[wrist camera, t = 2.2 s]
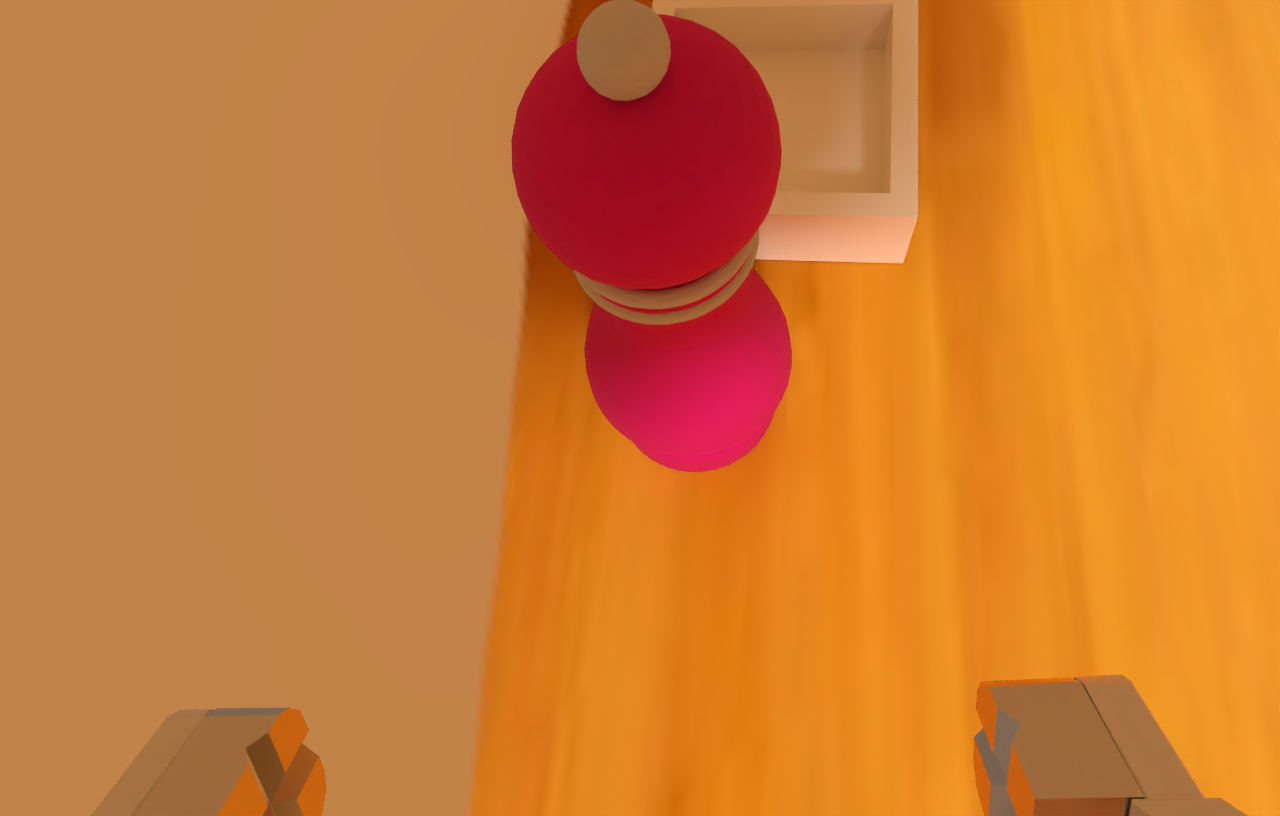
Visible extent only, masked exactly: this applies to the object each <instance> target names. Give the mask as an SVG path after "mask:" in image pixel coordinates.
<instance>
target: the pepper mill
mask: <svg viewBox="0 0 1280 816" xmlns="http://www.w3.org/2000/svg"><path fill="white" fill-rule="evenodd" d="M781 155H782V147H781V138H780V129H779V123H778V119H777V116H776V112H775V109H774V105H773V102H772V99H771V97H770V95H769V93H768V91H767V89H766V87H765V85H764V83H763V81H762V79H761V77H760V75H759V73H758V72H757V70H756V69H755V68H754V67H753V65H752V64H751V63H750V62H749V61H748V59H747V58H746V57H745V56H744V55H743V54H742V53H741V52H740V50H739V49H738V48H737V47H736V46H735V45H734V44H732V43H731V42H729V41H728V40H727V39H725V38H724V37H723V36H721V35H720V34H718V33H717V32H716V31H714V30H712V29H710V28H707V27H705V26H703V25H701V24H698V23H696V22H694V21H692V20H688V19H683V18H679V17H674V16H670V15H665V14H656V13H655V12H654V11H653V10H652V9H651V8H650V7H648V6H646V5H644V4H642V3H640V2H637V1H635V0H612V1H608V2H605V3H603V4H601V5H600V6H599V7H597V8H596V9H594V10H593V11H592V12H591V14H590V15H589V16H588V17H587V18H586V19H585V21H584V23H583V25H582V27H581V29H580V31H579V34H577V35H576V36H575V37H573V38H572V39H571V40H569V41H568V42H566V43H565V44H564V45H562V46H561V47H560V48H558V49H557V50H556V51H554V52H553V53H552V55H551V56H550V57H549V58H548V59H547V60H546V62H545V63H544V64H543V65H542V66H541V68H540V69H539V70H538V71H537V73H536V74H535V76H534V78H533V79H532V81H531V82H530V84H529V86H528V87H527V89H526V90H525V93H524V95H523V97H522V100H521V102H520V105H519V107H518V110H517V114H516V120H515V125H514V130H513V136H512V167H513V169H512V170H513V175H514V179H515V184H516V188H517V193H518V197H519V199H520V202H521V205H522V207H523V210H524V212H525V214H526V216H527V218H528V221H529V223H530V225H531V226H532V228H533V229H534V231H535V232H536V234H537V236H538V237H539V239H540V240H541V241H542V242H543V243H544V244H545V245H546V246H547V247H548V248H549V249H550V250H551V251H552V252H553V253H554V254H555V255H556V256H557V257H558V258H559V259H560V260H561V261H562V262H563V263H564V264H565V265H566V266H568V267H570V268H571V269H573V271H574V273H575V275H576V277H577V279H578V281H579V283H580V285H581V286H582V288H583V289H584V290H585V292H586V293H587V294H588V296H589V297H591V298H592V299H593V300H594V301H595V304H594V307H593V309H592V312H591V315H590V319H589V324H588V329H587V335H586V342H585V349H584V350H585V361H586V371H587V375H588V379H589V383H590V386H591V389H592V392H593V395H594V398H595V400H596V402H597V404H598V406H599V408H600V409H601V411H602V413H603V414H604V416H605V417H606V418H607V419H608V421H609V422H610V423H611V424H612V425H613V426H614V427H615V428H616V429H617V430H618V431H619V432H620V433H621V434H623V435H624V436H625V437H627V438H628V439H629V440H631V441H632V442H634V444H635V445H636V446H637V447H638V448H639V449H640V450H641V451H642V452H643V453H644V454H645V455H647V456H648V457H649V458H651V459H652V460H654V461H655V462H657V463H659V464H661V465H664V466H666V467H668V468H672V469H676V470H681V471H687V472H701V471H708V470H714V469H718V468H721V467H724V466H727V465H730V464H731V463H733V462H735V461H736V460H738V459H740V458H742V457H743V456H745V455H746V454H747V453H748V452H749V451H751V450H752V449H753V448H754V447H755V446H756V445H757V444H758V442H759V441H760V440H761V438H762V437H763V436H764V434H765V432H766V430H767V428H768V426H769V424H770V422H771V420H772V417H773V413H774V411H775V410H776V408H777V406H778V405H779V403H780V401H781V399H782V397H783V395H784V392H785V390H786V388H787V385H788V381H789V376H790V371H791V366H792V350H791V343H790V336H789V331H788V326H787V321H786V318H785V315H784V313H783V311H782V309H781V306H780V304H779V302H778V300H777V299H776V298H775V296H774V295H773V293H772V292H771V290H770V289H769V287H768V286H767V284H766V283H765V281H764V280H763V279H762V278H761V277H760V276H759V275H758V274H757V272H756V271H755V270H754V269H752V266H753V264H754V260H755V257H756V254H757V250H758V245H759V227H760V226H761V224H762V223H763V221H764V219H765V218H766V216H767V214H768V212H769V210H770V207H771V205H772V202H773V199H774V197H775V194H776V189H777V183H778V178H779V173H780V168H781Z"/></svg>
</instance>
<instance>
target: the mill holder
mask: <svg viewBox="0 0 1280 816" xmlns="http://www.w3.org/2000/svg"><path fill="white" fill-rule="evenodd" d="M652 10H653V11H654V12H655V13H656V14H665V15H670V16H674V17H679V18H683V19H688V20H692V21H694V22H696V23H698V24H701V25H703V26H705V27H707V28H710V29H712V30H714V31H716V32H717V33H718V34H720V35H721V36H723V37H724V38H725V39H727V40H728V41H729V42H731V43H732V44H734V45H735V46H736V47H737V48H738V49H739V50H740V52H741V53H742V54H743V55H744V56H745V57H746V58H747V59H748V61H749V62H750V63H751V64H752V65H753V67H754V68H755V69H756V70H757V72H758V73H759V75H760V77H761V79H762V81H763V83H764V85H765V87H766V89H767V91H768V93H769V95H770V97H771V99H772V102H773V105H774V109H775V112H776V116H777V119H778V123H779V129H780V138H781V147H782V155H781V168H780V173H779V178H778V183H777V189H776V194H775V197H774V199H773V202H772V205H771V207H770V210H769V212H768V214H767V216H766V218H765V219H764V221H763V223H762V224H761V226H760V227H759V245H758V250H757V254H756V257H755V259H763V260H799V261H835V262H870V263H903V262H904V259H905V256H906V252H907V249H908V246H909V243H910V240H911V237H912V234H913V231H914V228H915V224H916V221H917V218H918V0H653V3H652Z"/></svg>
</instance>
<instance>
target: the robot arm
mask: <svg viewBox="0 0 1280 816" xmlns="http://www.w3.org/2000/svg"><path fill="white" fill-rule="evenodd" d="M976 709H977V712H978V714H979V717H980V720H981V723H982V725H983V729H982V730H981V731H980V732H979V733H978V734H977V735H976V736H975V737H974V757H973V760H974V769H975V778H976V786H977V790H978V794H979V798H980V802H981V806H982V809H983V812H984V815H985V816H1248V815H1246V814H1245V813H1243V812H1242V811H1240V810H1238V809H1237V808H1235V807H1234V806H1232V805H1231V804H1229V803H1228V802H1226V801H1225V800H1223V799H1222V798H1205V797H1204V795H1203V793H1202V792H1201V790H1200V789H1199V787H1198V786H1197V784H1196V782H1195V781H1194V779H1193V778H1192V776H1191V775H1190V773H1189V771H1188V770H1187V768H1186V767H1185V765H1184V764H1183V762H1182V760H1181V759H1180V757H1179V756H1178V754H1177V753H1176V751H1175V749H1174V748H1173V746H1172V745H1171V743H1170V741H1169V740H1168V738H1167V737H1166V735H1165V734H1164V732H1163V730H1162V729H1161V727H1160V726H1159V724H1158V723H1157V721H1156V719H1155V718H1154V716H1153V715H1152V713H1151V712H1150V710H1149V708H1148V707H1147V705H1146V704H1145V702H1144V701H1143V699H1142V697H1141V696H1140V694H1139V693H1138V691H1137V690H1136V688H1135V686H1134V685H1133V683H1132V682H1131V681H1130V680H1129V679H1127V678H1126V677H1125V676H1123V675H1108V676H1087V677H1074V678H1073V679H1072V678H1049V679H1028V680H1006V681H984V682H981V683H980V685H979V688H978V691H977V702H976ZM308 731H309V730H308V727H307V725H306V723H305V720H304V718H303V716H302V714H301V712H300V710H296V709H292V708H217V709H203V710H202V709H193V710H192V709H190V710H188V709H186V710H185V709H184V710H178V711H177V712H175V713H173V714H171V715H170V716H168V717H167V718H166V719H165V720H164V721H163V723H162V724H161V725H160V726H159V728H158V729H157V730H156V732H155V733H154V734H153V736H152V737H151V738H150V740H149V741H148V742H147V744H146V745H145V746H144V747H143V749H142V750H141V751H140V753H139V754H138V755H137V756H136V758H135V759H134V760H133V762H132V763H131V764H130V766H129V767H128V768H127V770H126V771H125V772H124V773H123V775H122V776H121V777H120V779H119V780H118V781H117V783H116V784H115V785H114V786H113V788H112V789H111V791H110V792H109V793H108V794H107V796H106V797H105V798H104V800H103V801H102V802H101V803H100V805H99V806H98V808H97V809H96V810H95V811H94V813H93V814H92V815H91V816H322V811H323V805H324V800H325V794H326V781H325V772H324V769H323V766H322V763H321V760H320V758H319V756H318V755H317V754H315V753H314V752H313V751H311V750H310V749H309V748H308V747H306V746H305V745H303V744H302V743H303V741H304V739H305V736H306V735H307V733H308Z"/></svg>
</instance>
